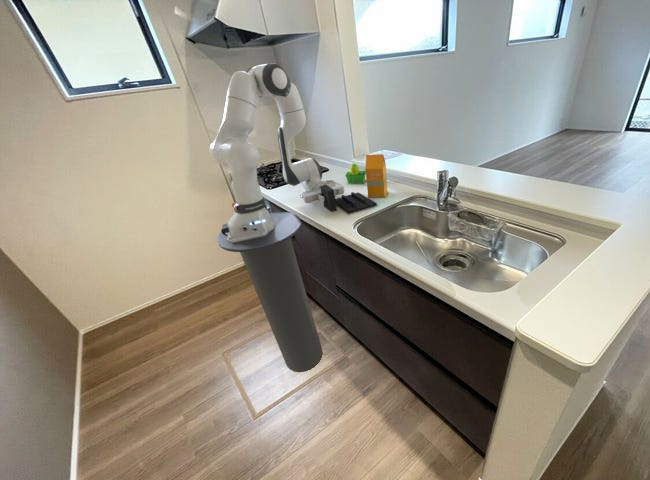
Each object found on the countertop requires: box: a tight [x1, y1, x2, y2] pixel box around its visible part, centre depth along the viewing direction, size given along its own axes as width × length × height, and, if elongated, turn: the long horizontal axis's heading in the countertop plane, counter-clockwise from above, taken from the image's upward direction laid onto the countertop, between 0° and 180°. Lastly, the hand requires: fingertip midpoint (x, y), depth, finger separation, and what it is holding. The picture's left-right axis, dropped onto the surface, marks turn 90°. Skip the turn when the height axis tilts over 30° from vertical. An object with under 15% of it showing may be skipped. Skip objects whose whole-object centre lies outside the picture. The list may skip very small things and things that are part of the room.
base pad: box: [335, 191, 378, 215], centre depth 147 cm, size 15×20×3 cm
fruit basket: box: [345, 163, 366, 184], centre depth 172 cm, size 11×9×11 cm
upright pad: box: [320, 185, 338, 213], centre depth 138 cm, size 3×9×10 cm, turn 29°
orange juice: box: [364, 153, 388, 199], centre depth 149 cm, size 8×9×20 cm
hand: (329, 197), depth 137 cm, fingers closed on upright pad, 3 cm apart
